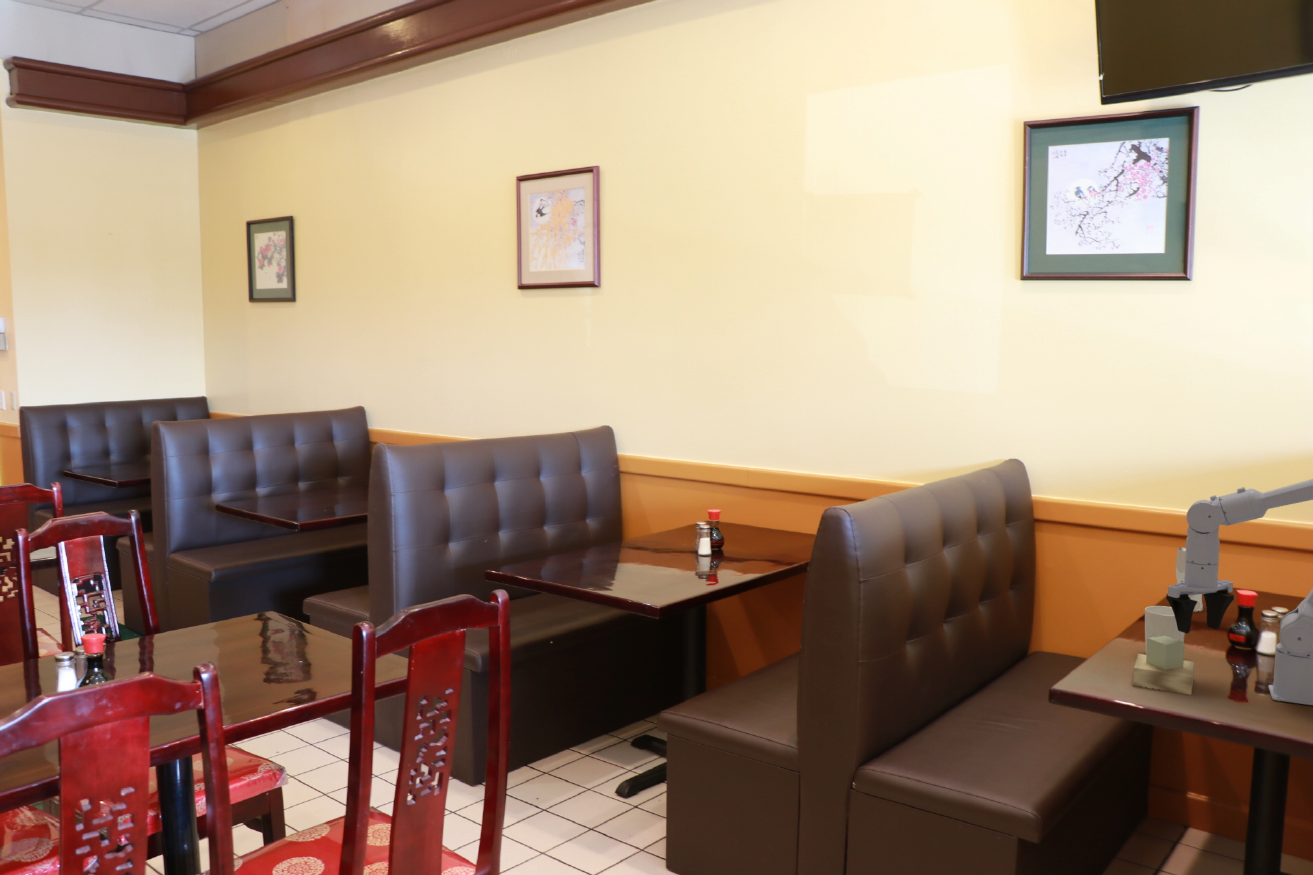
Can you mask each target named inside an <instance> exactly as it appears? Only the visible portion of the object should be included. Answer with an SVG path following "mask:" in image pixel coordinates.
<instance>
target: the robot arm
mask: <svg viewBox="0 0 1313 875" xmlns="http://www.w3.org/2000/svg"><path fill="white" fill-rule="evenodd" d="M1236 491H1237V492H1232V493H1229V494H1225V495H1221V496H1217V495H1216V494H1215V495H1211V496H1210V497H1209V499H1210V500H1208V499H1200V500H1197V501H1195V502H1193V504H1191V506H1190V507H1189V509H1188V510H1187V512H1186V522H1187V524H1188V527H1187V530H1186V534H1187V537H1186V541H1185V542H1186V543H1185V547H1186V556H1185V578H1184V580H1181V583H1178V584H1177V583H1176V584H1173V585H1168V586H1167V593H1166V600H1167V602H1168V604H1169V605H1170V606H1169V607H1171V608H1172V610H1173V612H1174V616H1175V619H1176V623H1177V628H1178V631H1180V632H1183V633H1185V634H1190V631H1191V626H1192V625H1191V624H1192V617H1193V614H1194V612H1193V611H1194V608H1195V606H1196V604H1197V601H1195V600H1192V599H1190V597H1189V595H1196V594H1202V595H1203V597H1204V601H1205V608H1206V624H1207V628H1210V629H1212V630H1220V627H1221V624H1222V620H1223V618H1224V615H1225V614H1226V612H1227V609H1228V608H1229V606H1230V605H1231V604H1232V602H1233V601H1234V600H1235V599H1234V598H1235V594H1233V591H1234V590H1233V588H1234V587H1233V586H1234V585H1233V584H1234V582H1233V581H1229V580H1226V579H1220V580H1218V579H1219V560H1220V543H1221V542H1220V539H1219V536H1220V535H1219V532H1220V531H1219V530H1220V526H1225V527H1227V526H1233V525H1237V524H1241V523H1244V522H1250V521H1254V520H1257V519H1262V518H1263V517H1265V514H1266V513H1267V511H1268V510H1269V509H1270V510H1271V509H1274V508H1279V507H1284V506H1289V505H1294V504H1298V503H1303V502H1308V501H1313V478H1311V479H1307V480H1304V481H1300V482H1297V483H1294V484H1289V485H1286V486H1282V487H1279V488H1276V489H1272V490H1268V491H1266V492H1261V491H1258V490H1257V489H1254V488H1248V489H1246V488H1245V487H1239V488H1237V489H1236ZM1279 630H1280V631H1279V634H1278V636H1279V637H1278V639H1279V642H1278V643H1276V645H1275V655H1274V656H1275V657H1274V668H1273V670H1274V672H1273V682H1272V683H1273V684H1268V690H1269V693H1270V695H1271V698H1272V700H1273V701H1278V702H1287V703H1293V704H1300V705H1301V704H1302V705H1308V706H1313V588H1311V590H1310V592H1309V593H1308V595H1306V597H1305V598H1304V599H1303V600H1302V601H1301V602H1300V603H1299V604H1298V605H1297V606H1296V608H1295V609H1293V610H1292V611H1290V612H1288V613H1286V614H1285V615H1283V616H1282V618H1281V620H1280V623H1279Z"/></svg>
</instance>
